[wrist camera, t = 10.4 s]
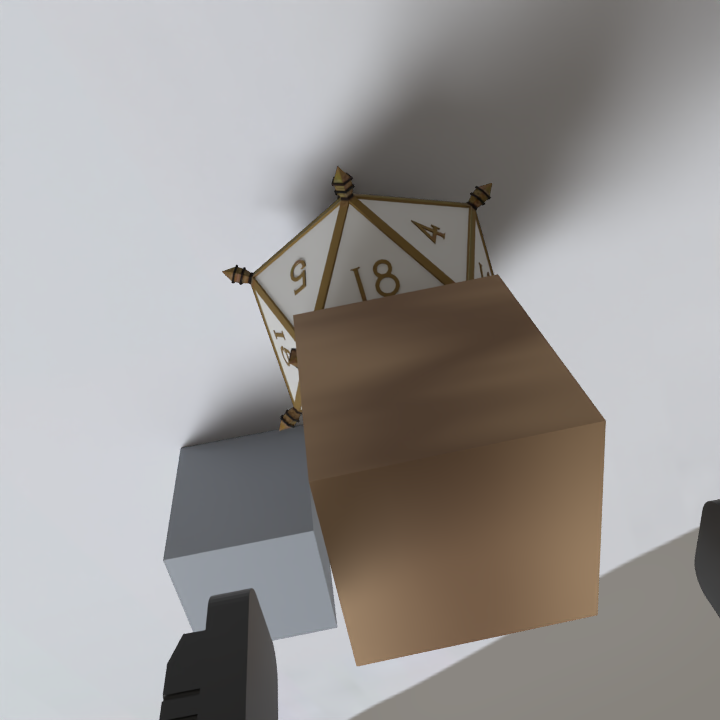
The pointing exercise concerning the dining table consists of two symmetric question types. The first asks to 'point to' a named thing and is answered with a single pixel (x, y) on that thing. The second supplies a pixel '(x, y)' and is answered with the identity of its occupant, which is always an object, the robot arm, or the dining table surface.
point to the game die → (363, 262)
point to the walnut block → (449, 468)
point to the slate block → (250, 532)
